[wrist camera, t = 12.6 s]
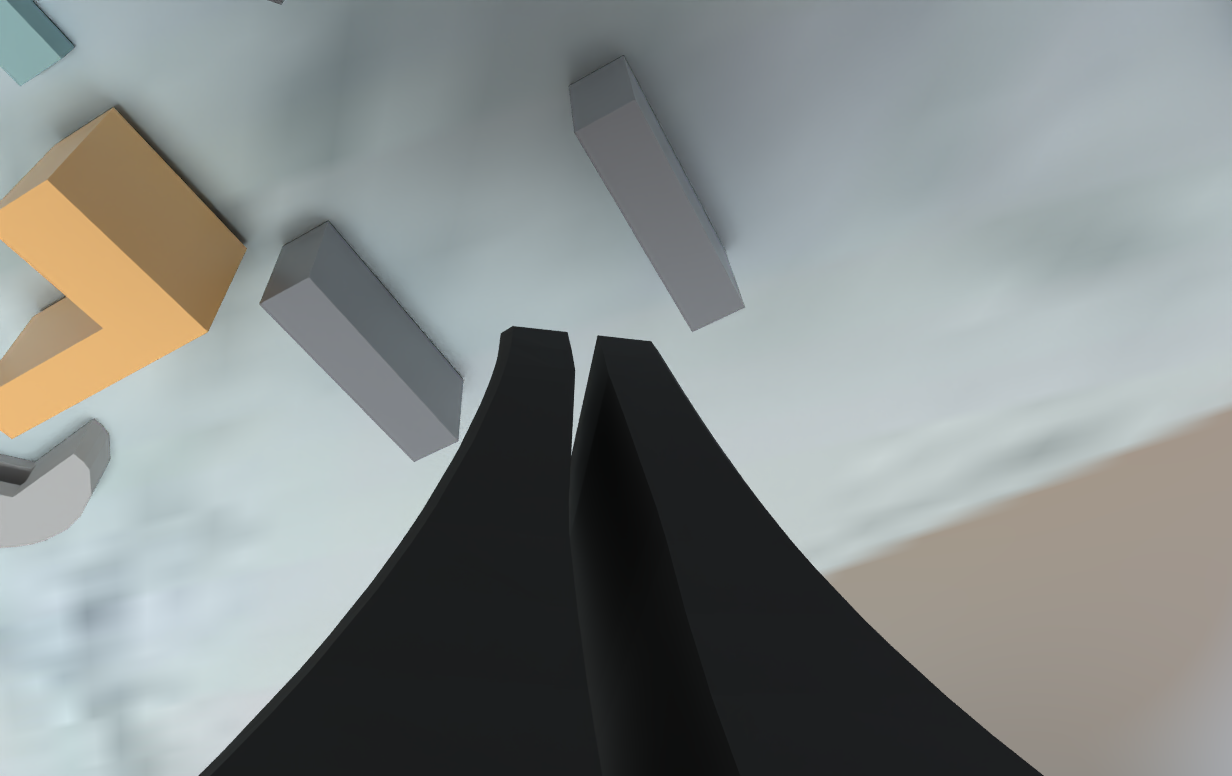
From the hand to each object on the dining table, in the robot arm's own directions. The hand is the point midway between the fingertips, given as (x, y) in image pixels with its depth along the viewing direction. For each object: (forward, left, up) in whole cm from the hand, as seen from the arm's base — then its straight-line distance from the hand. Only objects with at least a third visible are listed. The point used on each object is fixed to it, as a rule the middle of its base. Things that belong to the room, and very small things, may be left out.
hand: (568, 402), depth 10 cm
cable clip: (+2, +2, -9) cm, 10 cm away
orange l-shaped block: (+10, -2, -9) cm, 13 cm away
